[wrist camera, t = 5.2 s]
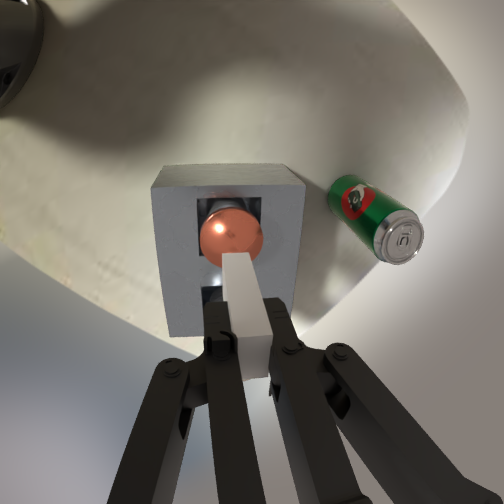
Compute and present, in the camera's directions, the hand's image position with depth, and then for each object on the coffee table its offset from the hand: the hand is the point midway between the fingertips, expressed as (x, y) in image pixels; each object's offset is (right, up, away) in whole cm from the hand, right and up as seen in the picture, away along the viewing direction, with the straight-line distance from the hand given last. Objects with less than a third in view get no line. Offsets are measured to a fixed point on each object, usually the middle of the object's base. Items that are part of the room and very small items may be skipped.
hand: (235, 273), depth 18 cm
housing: (-2, +3, +16) cm, 16 cm away
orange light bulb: (-2, +6, +12) cm, 13 cm away
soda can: (+12, +8, +16) cm, 21 cm away
